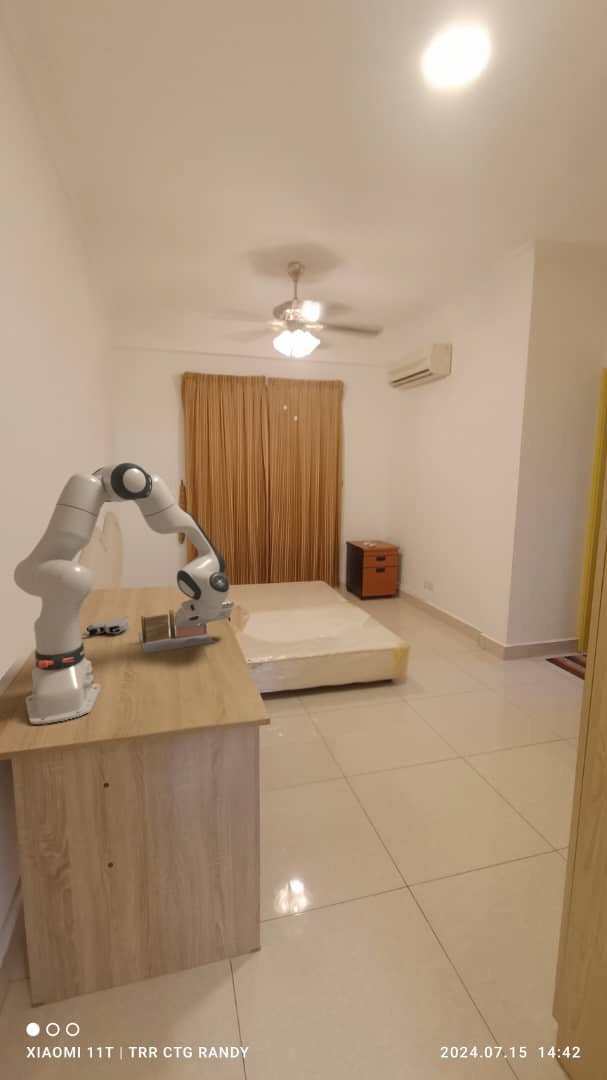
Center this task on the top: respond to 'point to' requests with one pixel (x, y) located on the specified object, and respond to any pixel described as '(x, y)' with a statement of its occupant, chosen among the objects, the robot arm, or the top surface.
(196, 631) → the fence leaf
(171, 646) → the board
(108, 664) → the top surface
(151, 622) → the fence fixed
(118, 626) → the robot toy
